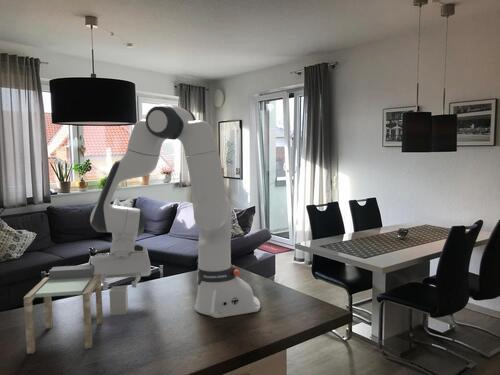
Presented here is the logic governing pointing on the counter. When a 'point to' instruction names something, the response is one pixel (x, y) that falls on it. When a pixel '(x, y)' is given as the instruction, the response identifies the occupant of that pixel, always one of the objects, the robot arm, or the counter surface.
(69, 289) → the trapdoor
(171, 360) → the counter surface
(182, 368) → the counter surface
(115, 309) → the stone
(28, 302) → the frame
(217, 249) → the robot arm
